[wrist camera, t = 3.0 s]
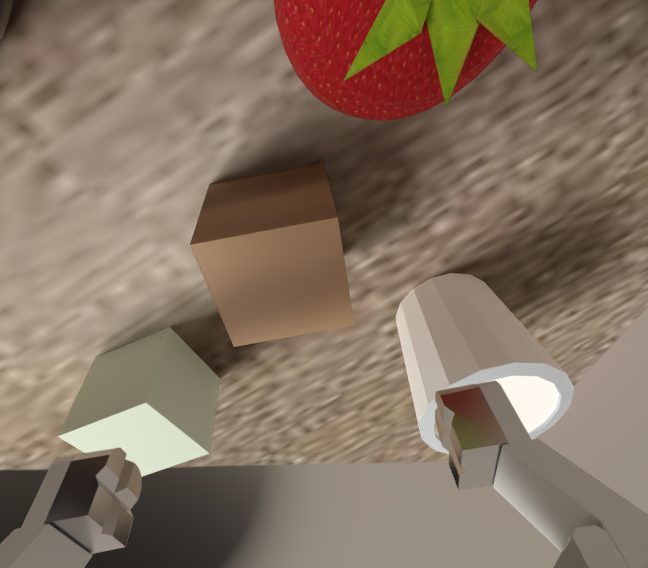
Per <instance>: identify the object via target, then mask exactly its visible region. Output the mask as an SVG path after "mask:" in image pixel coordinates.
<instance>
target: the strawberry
mask: <svg viewBox="0 0 648 568" xmlns="http://www.w3.org/2000/svg"><path fill="white" fill-rule="evenodd" d="M536 1H537V0H274V6H275V14H276V21H277V25H278V28H279V32H280V35H281V38H282V42H283V45H284V49H285V52H286V54H287V56H288V58H289V60H290V62H291V64H292V66H293V68H294V70H295V72H296V73H297V75H298V77H299V78H300V79H301V81H302V82H303V83H304V84H305V86H306V87H307V88H308V89H309V90H310V92H311V93H312V94H313V95H314V96H315V97H317V98H318V99H319V100H321V101H322V102H323V103H325V104H326V105H327V106H329V107H330V108H331V109H334V110H337V111H339V112H342V113H344V114H347V115H350V116H353V117H357V118H361V119H371V120H381V121H385V120H392V119H399V118H406V117H409V116H412V115H414V114H417V113H420V112H422V111H425V110H428V109H430V108H432V107H434V106H436V105H437V104H439V103H441V102H442V101H444V100H445V105H446V106H447V104H448V103H449V100H450V98H451V96H453V95H454V94H456V93H457V92H458V91H459V90H461V89H462V88H463V87H464V86H466V85H467V84H468V83H469V82H471V81H472V80H473V79H474V78H476V77H477V76H478V75H479V74H480V73H481V72H482V71H483V70H484V69H485V68H486V67H487V66H488V65H489V64H490V63H491V62H492V61H493V60H494V58H495V57H496V56H497V55H498V54H499V53H500V52H501V51H502V50H503V49H504V47H505V46H507V47H509V48H510V49H511V50H512V51H513V52H514V53H516V54H517V55H518V56H519V57H520V58H521V59H523V60H524V61H525V62H526V63H527V64H528V65H529V66H531V67H532V68H533V69H534V70H535V71H536V72H537V64H536V56H535V48H534V40H533V32H532V24H531V16H530V11H531V10H532V8H533V6H534V5H535V3H536Z"/></svg>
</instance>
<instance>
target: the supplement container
mask: <svg viewBox="0 0 648 568" xmlns="http://www.w3.org/2000/svg"><path fill="white" fill-rule="evenodd" d="M12 7H13V0H0V40H1V38H2V36H3V34H4V32H5V29H6V27H7V24H8V22H9V18H10V14H11V10H12Z"/></svg>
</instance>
